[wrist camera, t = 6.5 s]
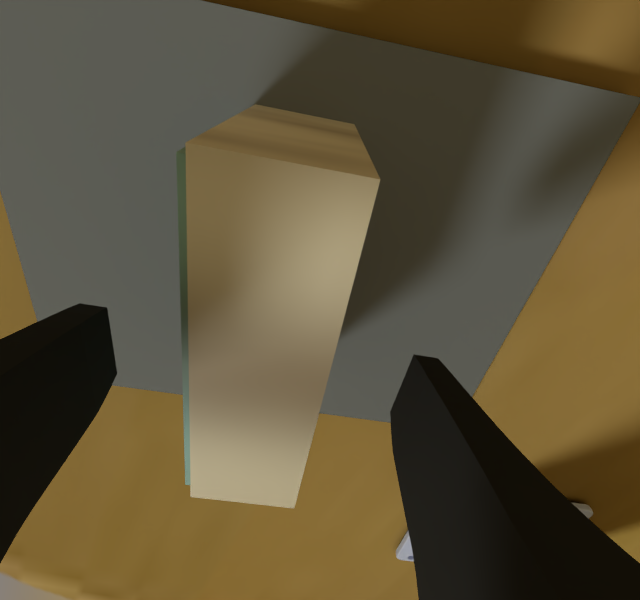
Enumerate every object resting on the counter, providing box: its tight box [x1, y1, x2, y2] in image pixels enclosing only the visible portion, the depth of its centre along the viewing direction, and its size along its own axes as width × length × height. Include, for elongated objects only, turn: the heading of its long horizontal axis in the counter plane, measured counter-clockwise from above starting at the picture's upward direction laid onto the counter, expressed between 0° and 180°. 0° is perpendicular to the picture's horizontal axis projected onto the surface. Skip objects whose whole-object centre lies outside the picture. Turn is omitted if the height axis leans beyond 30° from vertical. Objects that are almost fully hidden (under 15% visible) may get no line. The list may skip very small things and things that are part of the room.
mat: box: [0, 0, 640, 423], centre depth 13 cm, size 18×14×1 cm
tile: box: [176, 104, 381, 508], centre depth 10 cm, size 9×3×6 cm, turn 170°
